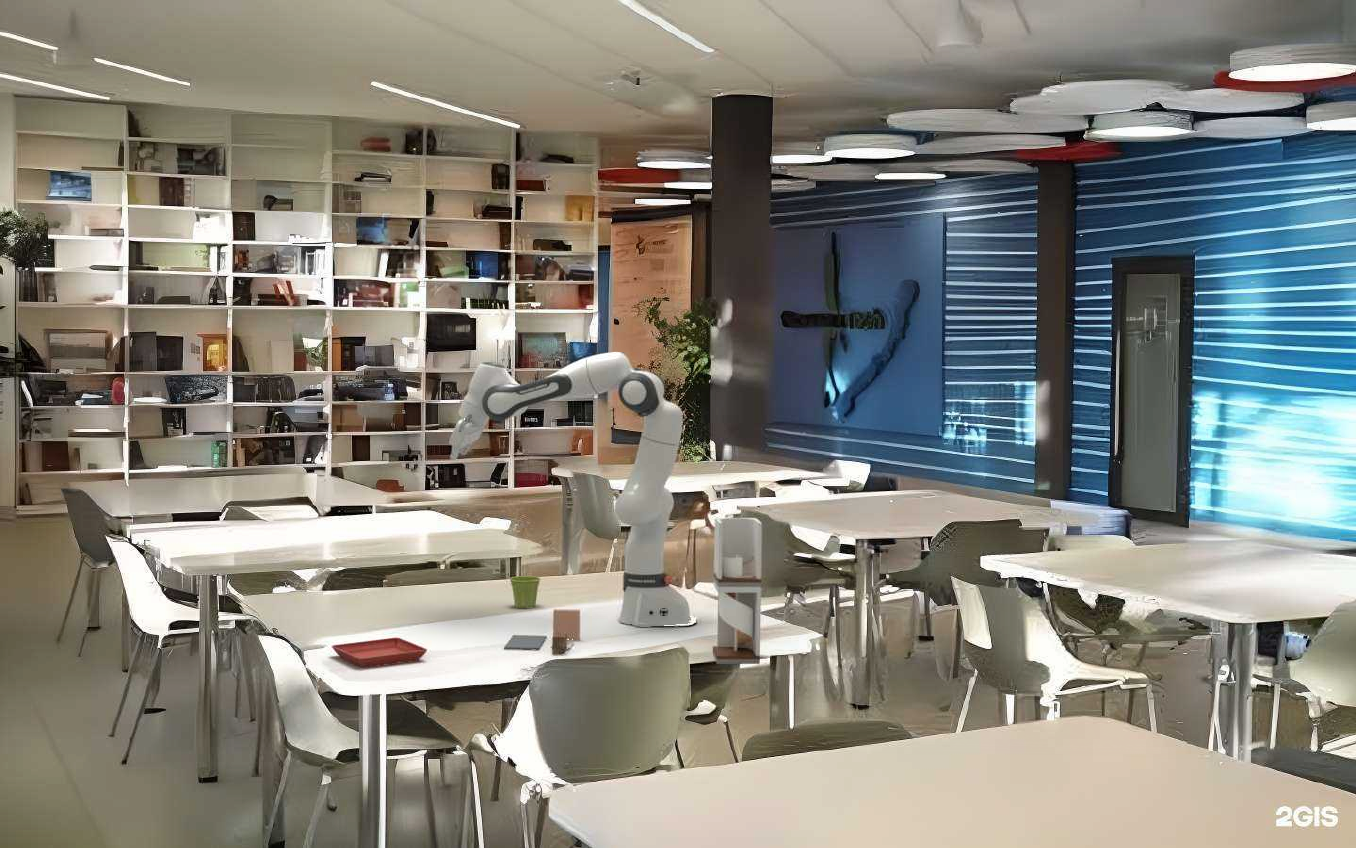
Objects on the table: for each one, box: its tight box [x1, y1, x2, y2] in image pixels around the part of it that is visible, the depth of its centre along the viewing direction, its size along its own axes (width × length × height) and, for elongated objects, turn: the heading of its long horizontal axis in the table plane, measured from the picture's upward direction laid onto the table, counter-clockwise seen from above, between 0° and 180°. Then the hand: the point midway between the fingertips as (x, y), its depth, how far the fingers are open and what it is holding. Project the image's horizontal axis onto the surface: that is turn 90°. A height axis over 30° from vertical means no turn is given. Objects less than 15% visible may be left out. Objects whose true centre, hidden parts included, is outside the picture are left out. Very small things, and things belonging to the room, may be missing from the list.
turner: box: [550, 632, 574, 655], centre depth 355 cm, size 5×13×4 cm, turn 178°
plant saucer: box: [331, 637, 428, 668], centre depth 341 cm, size 18×18×3 cm
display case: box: [712, 517, 763, 665], centre depth 345 cm, size 11×11×35 cm
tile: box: [552, 608, 581, 641], centre depth 367 cm, size 7×2×8 cm, turn 88°
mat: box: [503, 634, 548, 651], centre depth 361 cm, size 9×16×1 cm, turn 178°
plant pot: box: [509, 575, 542, 609], centre depth 416 cm, size 9×9×9 cm
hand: (457, 456), depth 404 cm, fingers open, 8 cm apart
